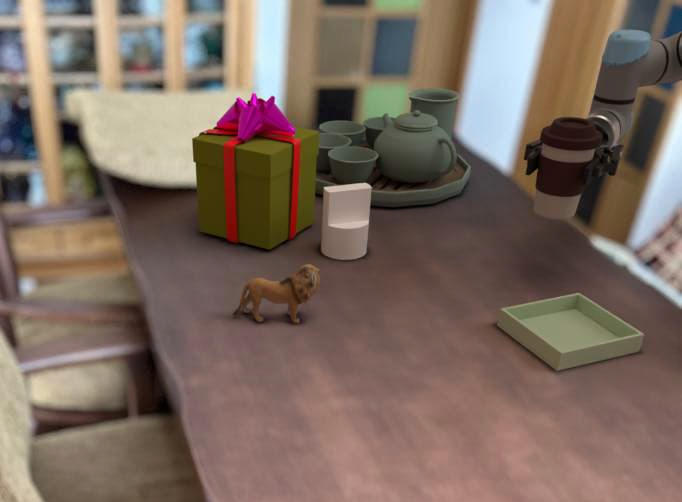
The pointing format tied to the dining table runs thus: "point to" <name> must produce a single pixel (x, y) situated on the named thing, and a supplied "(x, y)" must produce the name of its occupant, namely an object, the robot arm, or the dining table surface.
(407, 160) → the tea set
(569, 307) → the tray
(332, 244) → the cylinder with rectangular tab
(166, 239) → the dining table surface
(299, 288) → the lion figurine
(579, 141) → the coffee cup
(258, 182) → the gift box
